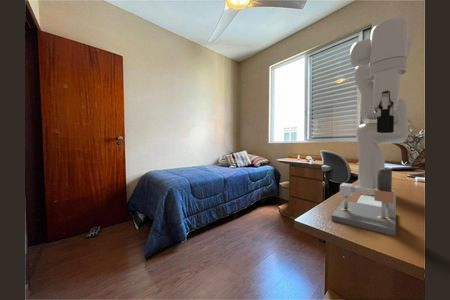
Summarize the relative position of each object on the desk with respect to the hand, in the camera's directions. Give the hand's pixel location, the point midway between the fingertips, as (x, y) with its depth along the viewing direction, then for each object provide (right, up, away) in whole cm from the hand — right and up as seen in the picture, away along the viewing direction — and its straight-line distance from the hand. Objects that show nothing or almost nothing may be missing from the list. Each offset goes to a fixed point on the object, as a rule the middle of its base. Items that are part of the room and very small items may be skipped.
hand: (385, 132), depth 51 cm
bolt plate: (-2, -26, +6) cm, 26 cm away
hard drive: (+11, -26, +18) cm, 33 cm away
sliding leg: (0, -24, +1) cm, 24 cm away
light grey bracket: (-2, -24, +4) cm, 25 cm away
